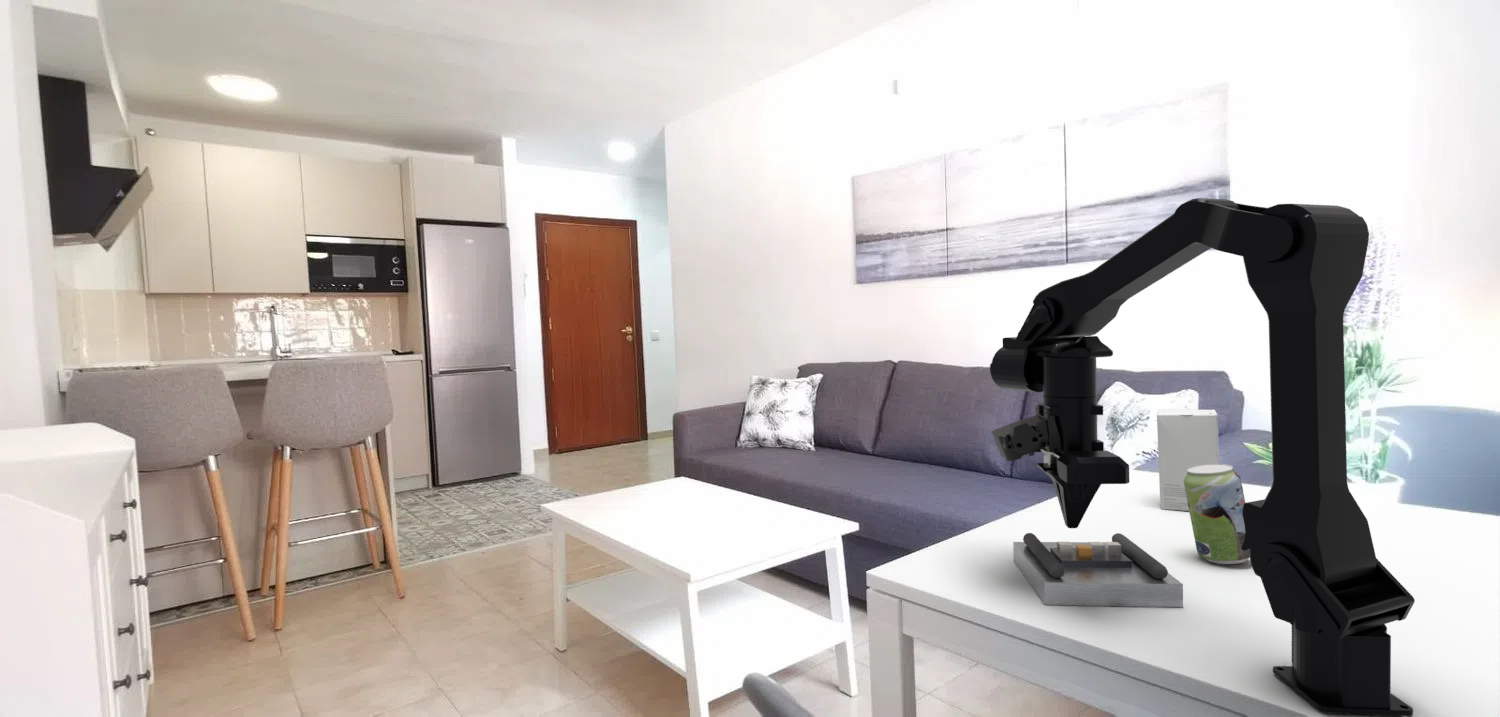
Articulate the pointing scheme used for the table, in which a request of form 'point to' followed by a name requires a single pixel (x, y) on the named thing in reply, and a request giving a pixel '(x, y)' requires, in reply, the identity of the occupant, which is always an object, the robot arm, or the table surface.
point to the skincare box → (1183, 450)
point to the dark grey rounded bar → (1044, 555)
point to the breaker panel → (1096, 577)
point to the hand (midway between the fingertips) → (1071, 527)
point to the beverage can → (1216, 512)
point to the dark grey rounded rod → (1141, 557)
